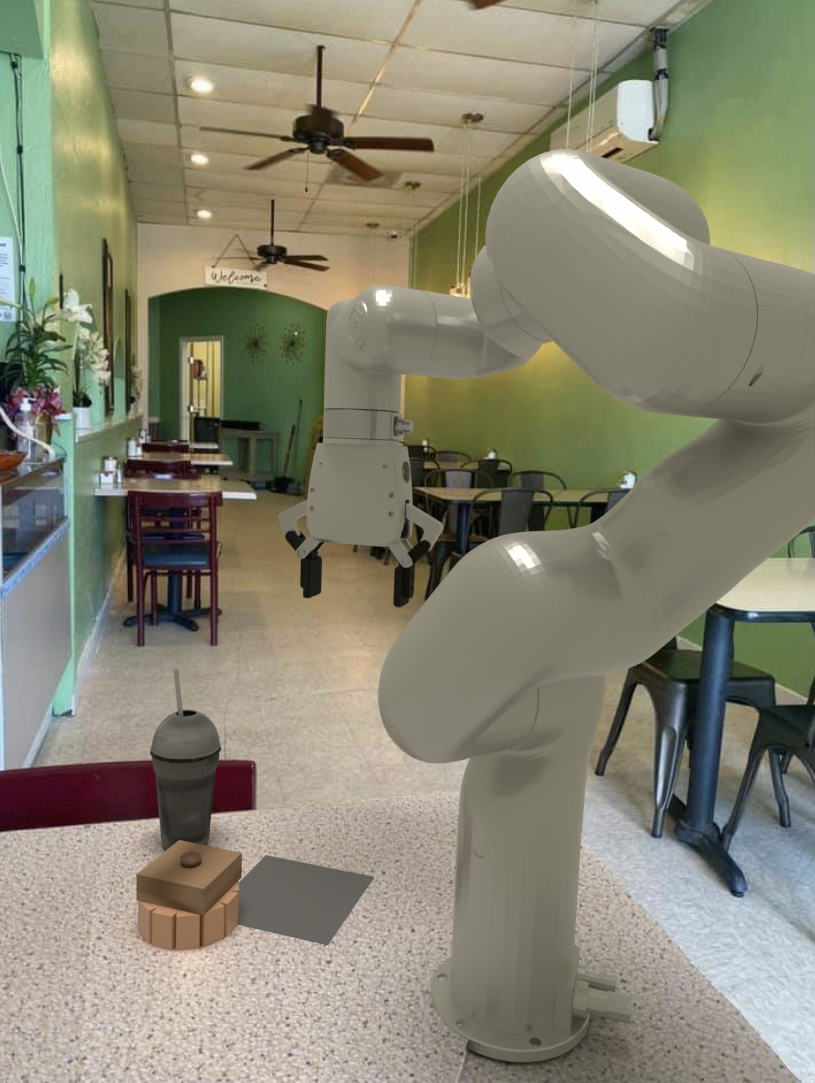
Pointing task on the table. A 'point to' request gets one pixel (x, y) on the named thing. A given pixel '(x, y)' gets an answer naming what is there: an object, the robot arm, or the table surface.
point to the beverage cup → (185, 773)
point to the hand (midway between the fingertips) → (356, 600)
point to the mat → (298, 898)
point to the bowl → (188, 923)
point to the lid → (189, 877)
